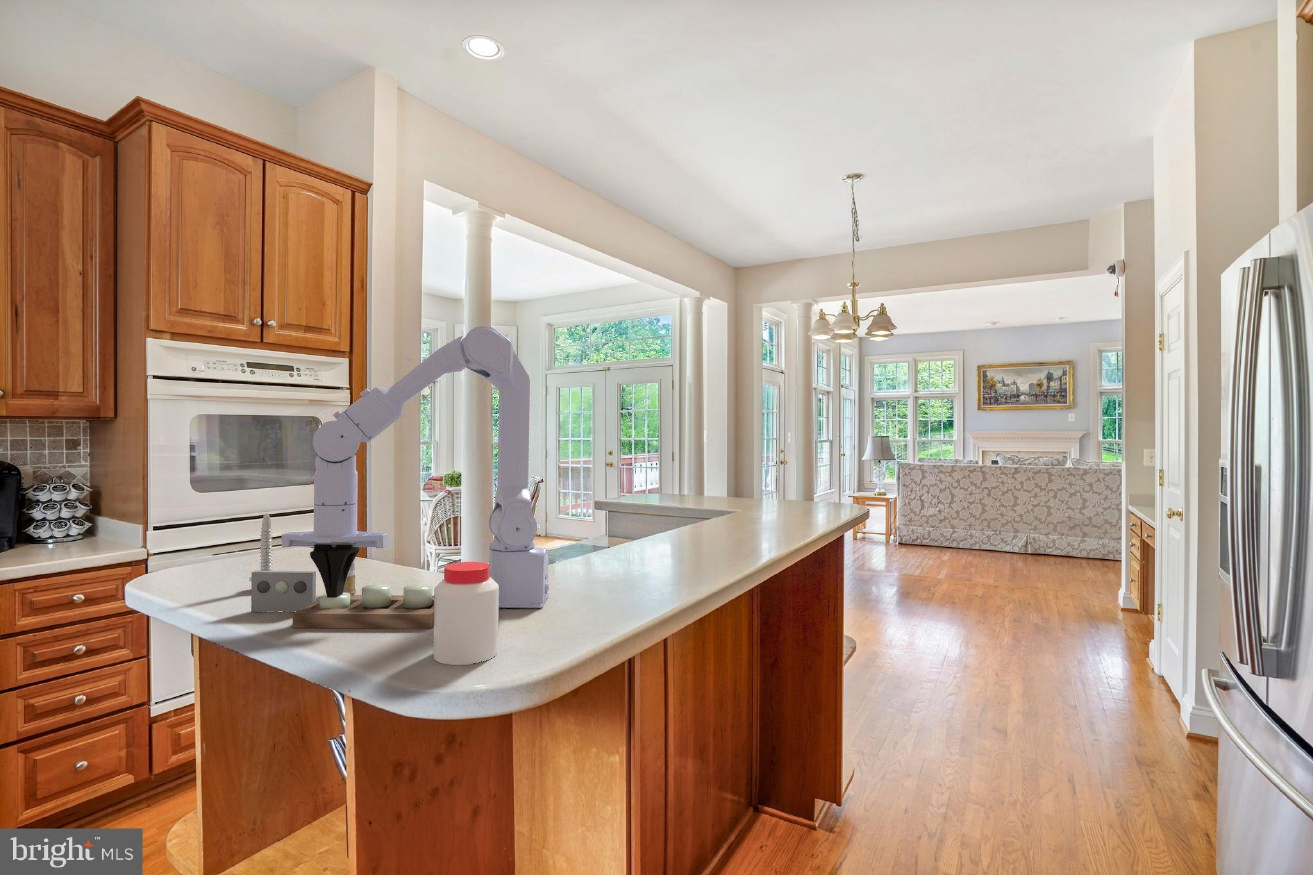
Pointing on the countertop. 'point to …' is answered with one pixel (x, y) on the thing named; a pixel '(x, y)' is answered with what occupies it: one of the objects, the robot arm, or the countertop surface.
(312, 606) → the wooden compartment tray
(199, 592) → the countertop surface
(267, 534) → the screw
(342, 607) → the button
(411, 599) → the button
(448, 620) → the pill bottle
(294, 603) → the card
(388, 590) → the button mid
